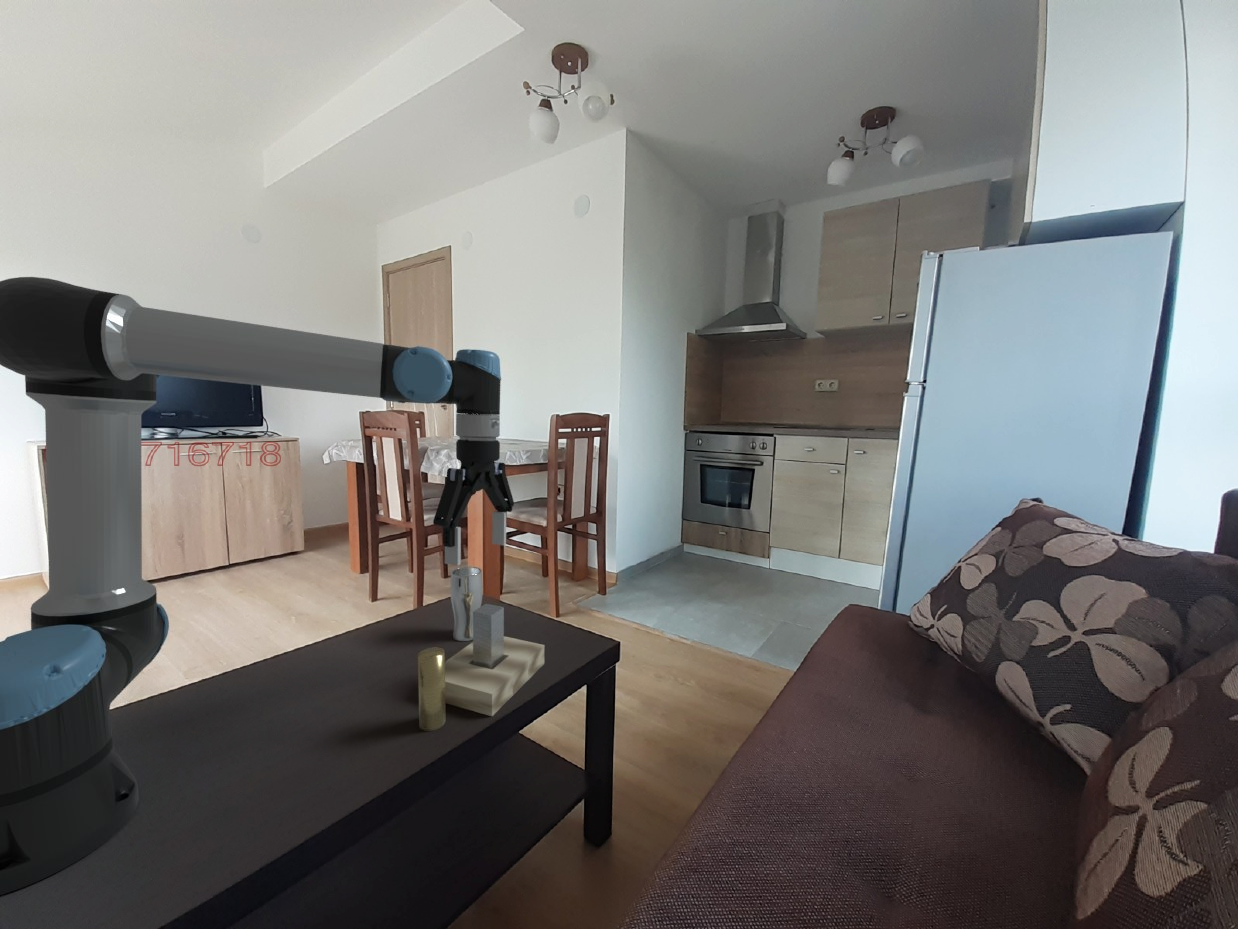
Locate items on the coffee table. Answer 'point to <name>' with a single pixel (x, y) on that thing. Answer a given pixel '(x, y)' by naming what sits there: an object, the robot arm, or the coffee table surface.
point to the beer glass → (465, 599)
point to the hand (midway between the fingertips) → (477, 553)
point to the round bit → (431, 688)
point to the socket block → (491, 676)
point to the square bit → (488, 636)
